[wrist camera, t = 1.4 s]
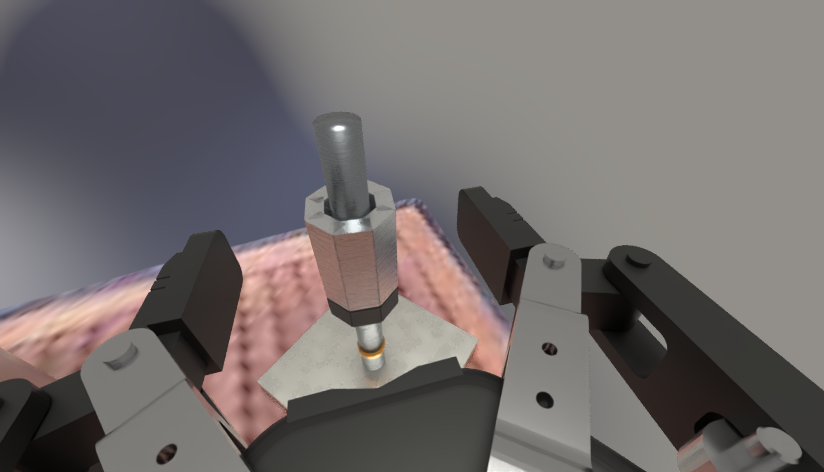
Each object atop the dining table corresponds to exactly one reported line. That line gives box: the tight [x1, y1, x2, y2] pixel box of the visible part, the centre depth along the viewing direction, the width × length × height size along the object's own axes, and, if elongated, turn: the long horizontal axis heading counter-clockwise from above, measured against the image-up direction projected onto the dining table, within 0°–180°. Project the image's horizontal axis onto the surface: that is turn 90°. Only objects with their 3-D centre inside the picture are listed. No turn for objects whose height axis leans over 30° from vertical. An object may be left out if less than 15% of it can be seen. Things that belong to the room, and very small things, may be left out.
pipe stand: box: [257, 112, 479, 410], centre depth 28 cm, size 18×18×30 cm
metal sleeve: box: [305, 180, 398, 311], centre depth 24 cm, size 6×6×8 cm
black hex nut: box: [327, 286, 398, 327], centre depth 28 cm, size 6×6×2 cm
